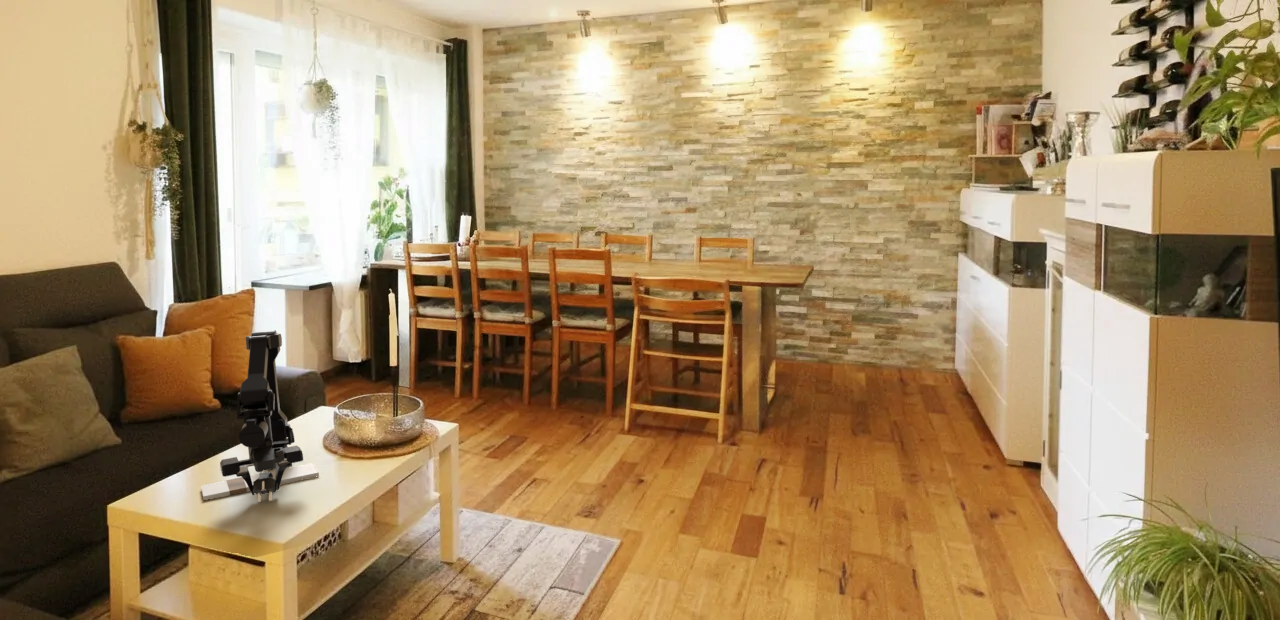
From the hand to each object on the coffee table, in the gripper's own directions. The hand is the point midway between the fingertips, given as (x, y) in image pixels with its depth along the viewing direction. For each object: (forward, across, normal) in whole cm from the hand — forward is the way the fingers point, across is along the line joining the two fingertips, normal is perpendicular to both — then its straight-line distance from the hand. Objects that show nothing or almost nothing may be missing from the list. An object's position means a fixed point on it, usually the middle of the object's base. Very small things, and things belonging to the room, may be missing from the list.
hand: (265, 491), depth 199 cm
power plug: (+2, +1, +2) cm, 2 cm away
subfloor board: (+2, 0, +12) cm, 12 cm away
